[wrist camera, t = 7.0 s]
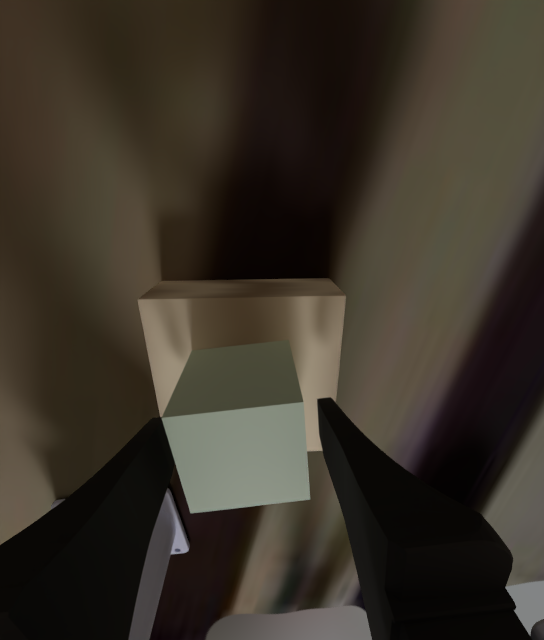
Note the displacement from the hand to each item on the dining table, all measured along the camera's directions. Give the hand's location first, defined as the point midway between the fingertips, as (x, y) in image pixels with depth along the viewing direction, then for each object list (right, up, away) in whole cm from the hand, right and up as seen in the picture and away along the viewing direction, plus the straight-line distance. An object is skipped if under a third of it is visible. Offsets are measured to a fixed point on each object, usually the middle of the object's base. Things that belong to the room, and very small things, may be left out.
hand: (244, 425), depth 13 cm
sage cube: (0, +1, +3) cm, 3 cm away
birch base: (0, +3, +7) cm, 7 cm away
